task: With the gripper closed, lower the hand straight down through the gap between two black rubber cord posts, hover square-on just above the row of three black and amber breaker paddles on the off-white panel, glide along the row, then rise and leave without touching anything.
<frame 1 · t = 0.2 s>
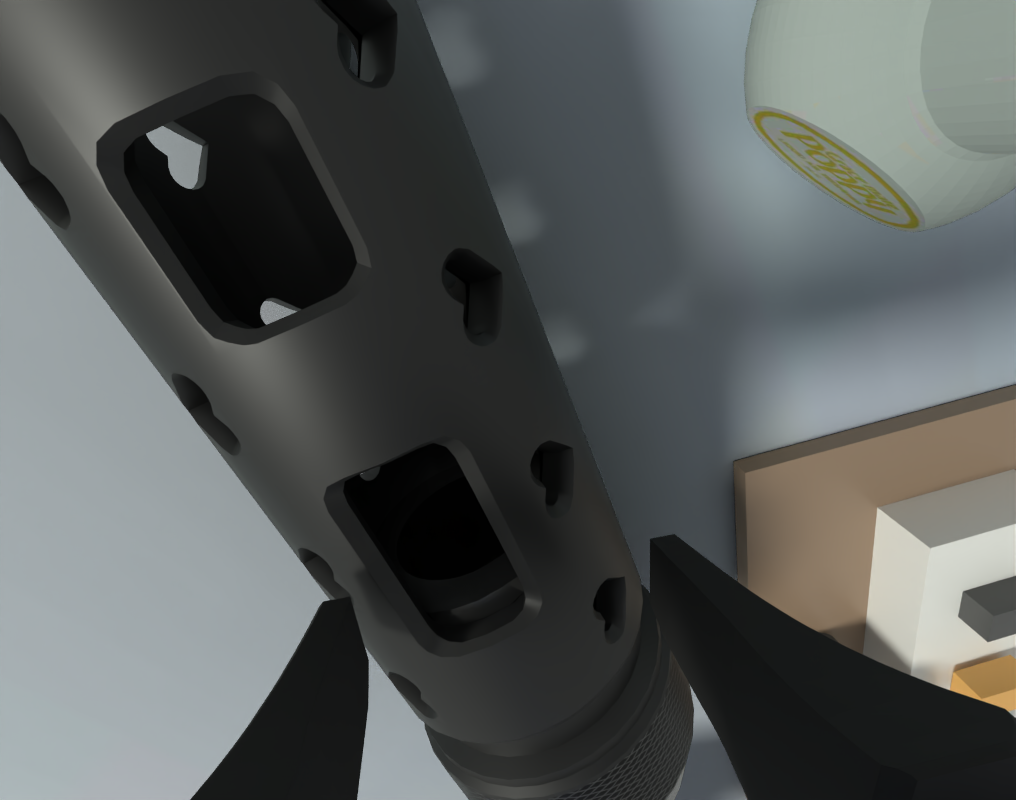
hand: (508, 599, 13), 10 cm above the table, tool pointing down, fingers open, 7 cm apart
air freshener: (852, 57, 20), on the table
amber paddle: (993, 687, 27), point 5 cm above the table, hinge at 0.0°
breaker panel: (909, 609, 32), on the table
muzzle brake: (438, 408, 23), on the table
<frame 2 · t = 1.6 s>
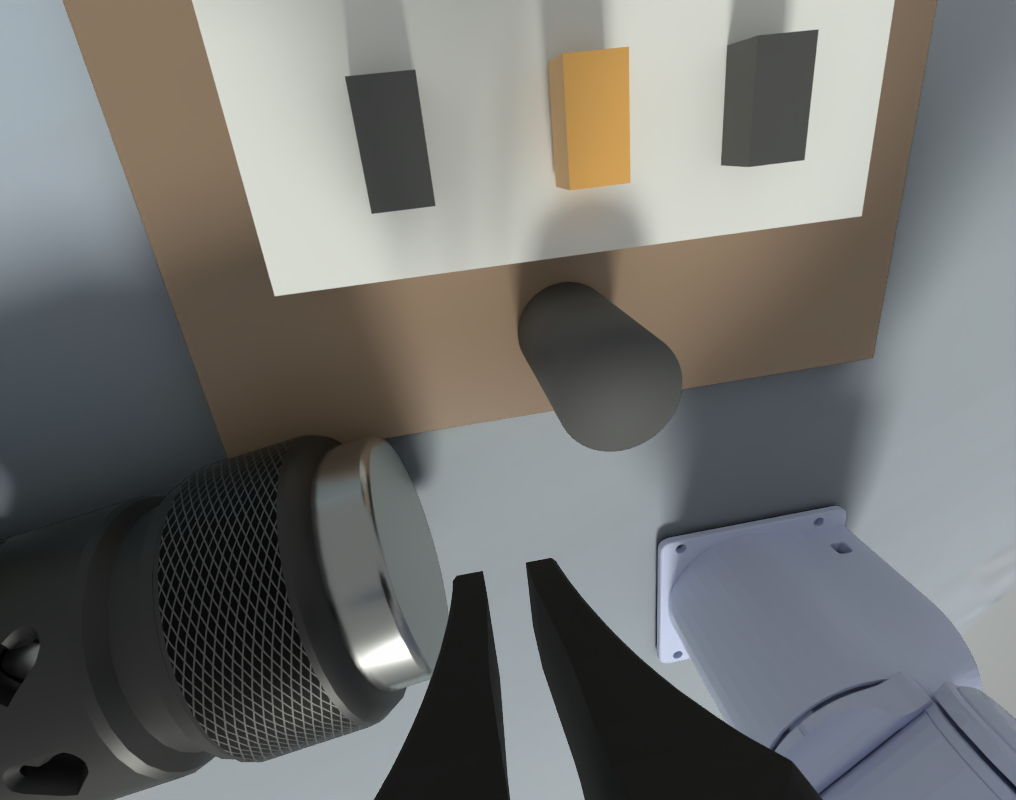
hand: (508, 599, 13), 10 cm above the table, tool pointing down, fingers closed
amber paddle: (589, 122, 15), point 5 cm above the table, hinge at 0.0°
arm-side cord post: (565, 330, 21), point 1 cm above the table, touching breaker panel
breaker panel: (546, 128, 19), on the table
muzzle brake: (114, 771, 22), point 4 cm above the table, touching breaker panel
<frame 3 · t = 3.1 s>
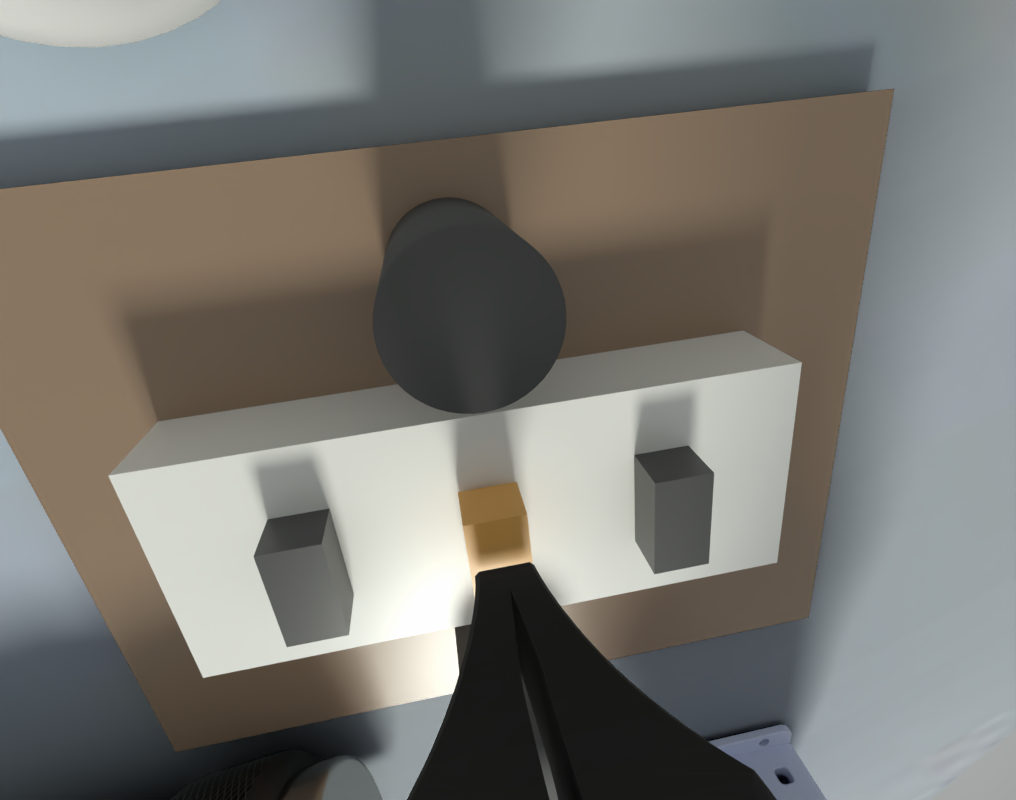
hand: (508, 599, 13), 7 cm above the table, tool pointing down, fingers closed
amber paddle: (497, 549, 15), point 5 cm above the table, hinge at 0.0°
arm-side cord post: (502, 622, 22), point 1 cm above the table, touching breaker panel
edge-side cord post: (450, 265, 16), point 1 cm above the table, touching breaker panel
breaker panel: (476, 456, 20), on the table
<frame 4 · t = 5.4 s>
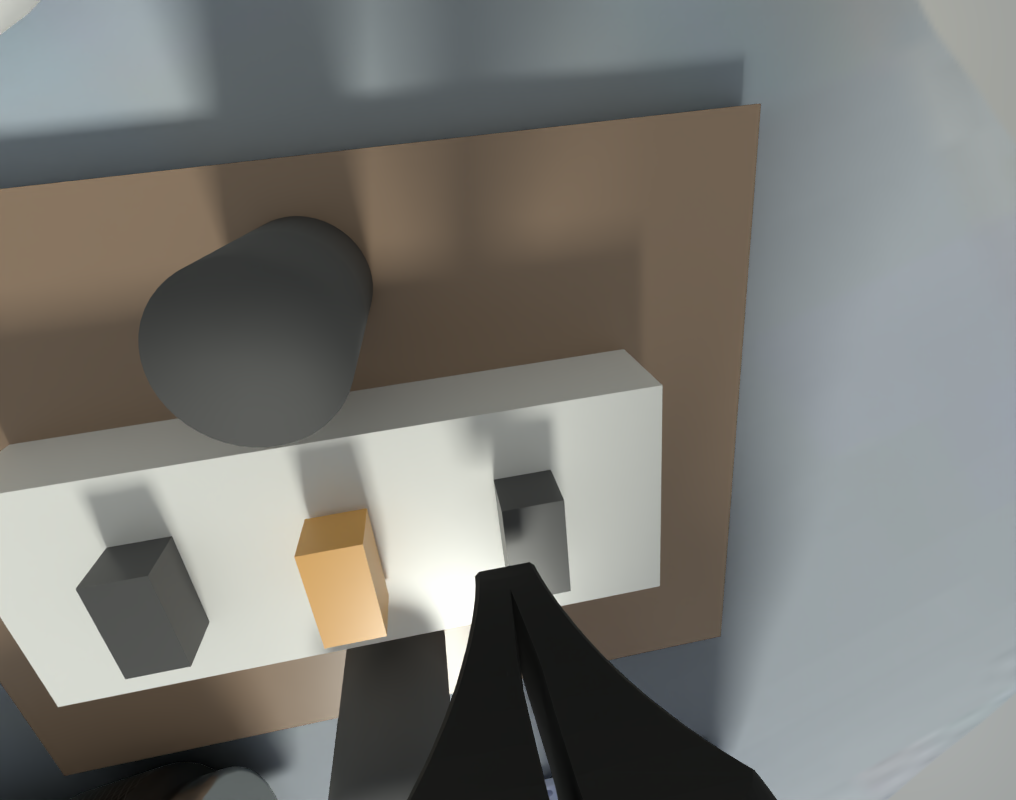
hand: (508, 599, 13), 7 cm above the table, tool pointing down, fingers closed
amber paddle: (345, 577, 15), point 5 cm above the table, hinge at 0.0°
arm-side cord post: (396, 643, 21), point 1 cm above the table, touching breaker panel
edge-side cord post: (305, 284, 16), point 1 cm above the table, touching breaker panel
breaker panel: (360, 476, 19), on the table
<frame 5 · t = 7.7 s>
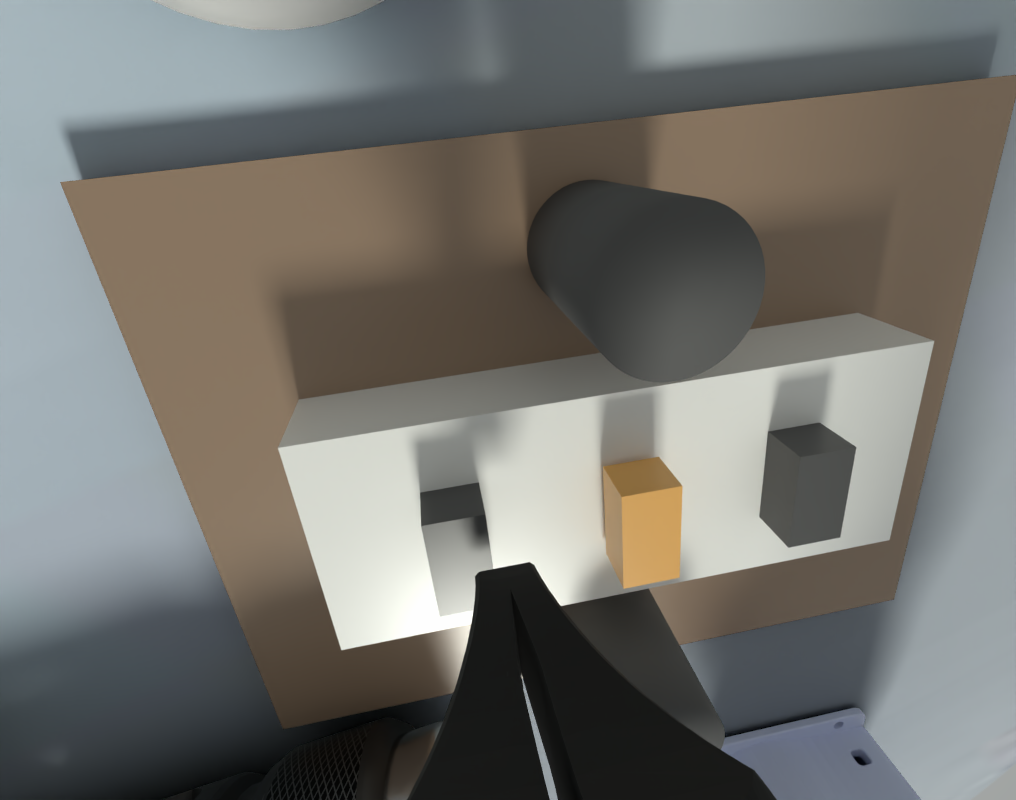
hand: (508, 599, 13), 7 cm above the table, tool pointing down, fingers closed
amber paddle: (641, 522, 16), point 5 cm above the table, hinge at 0.0°
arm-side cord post: (603, 602, 22), point 1 cm above the table, touching breaker panel
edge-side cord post: (588, 246, 16), point 1 cm above the table, touching breaker panel
breaker panel: (588, 437, 20), on the table
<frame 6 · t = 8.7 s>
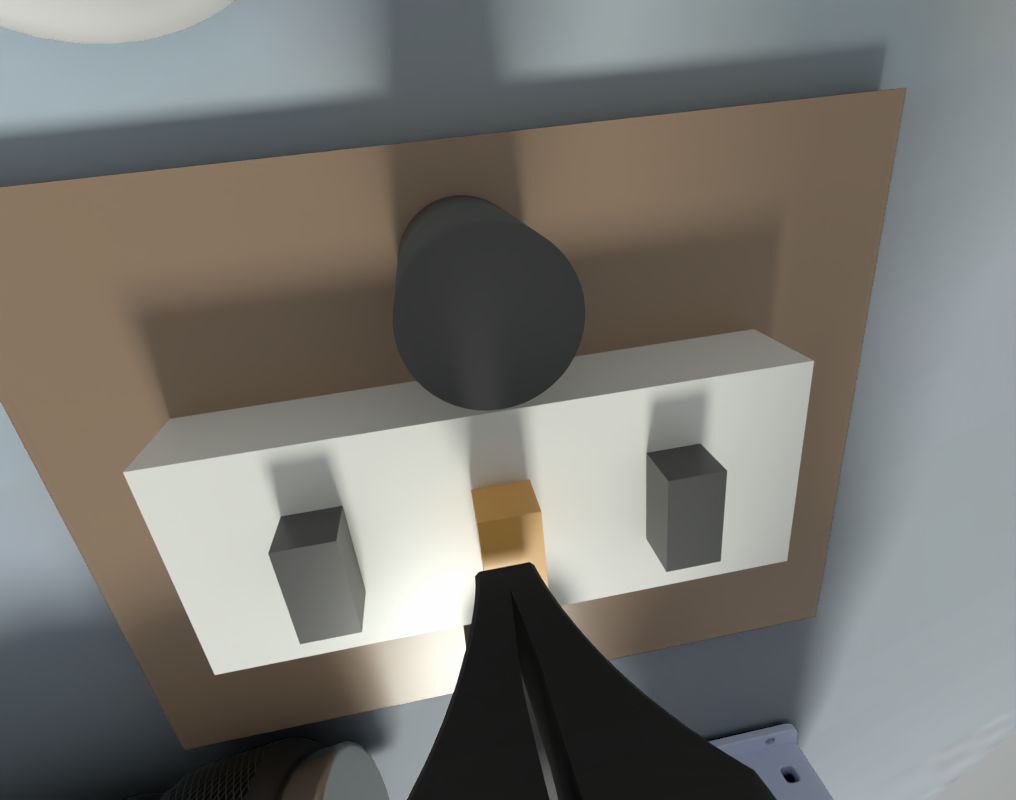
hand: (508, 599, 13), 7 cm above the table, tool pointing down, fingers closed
amber paddle: (510, 546, 15), point 5 cm above the table, hinge at 0.0°
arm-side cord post: (510, 620, 22), point 1 cm above the table, touching breaker panel
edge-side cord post: (463, 262, 16), point 1 cm above the table, touching breaker panel
breaker panel: (486, 454, 20), on the table
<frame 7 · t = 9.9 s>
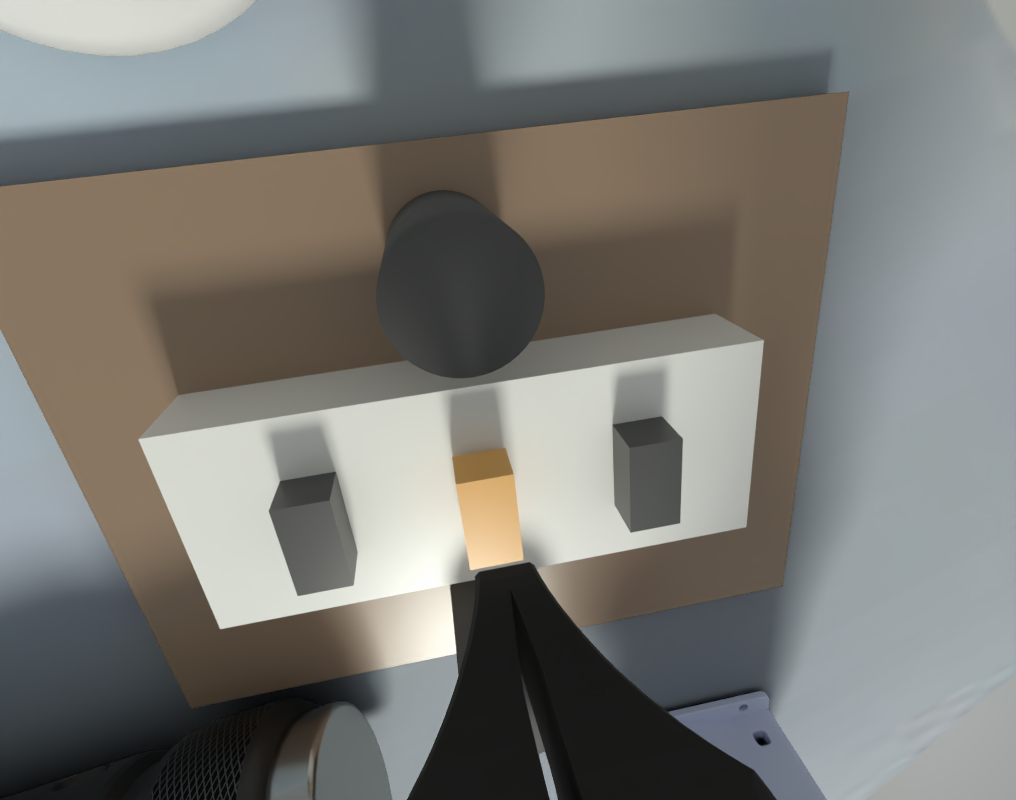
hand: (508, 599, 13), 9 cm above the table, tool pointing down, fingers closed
amber paddle: (487, 508, 17), point 5 cm above the table, hinge at 0.0°
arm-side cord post: (494, 587, 23), point 1 cm above the table, touching breaker panel
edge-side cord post: (445, 252, 18), point 1 cm above the table, touching breaker panel
breaker panel: (470, 430, 21), on the table
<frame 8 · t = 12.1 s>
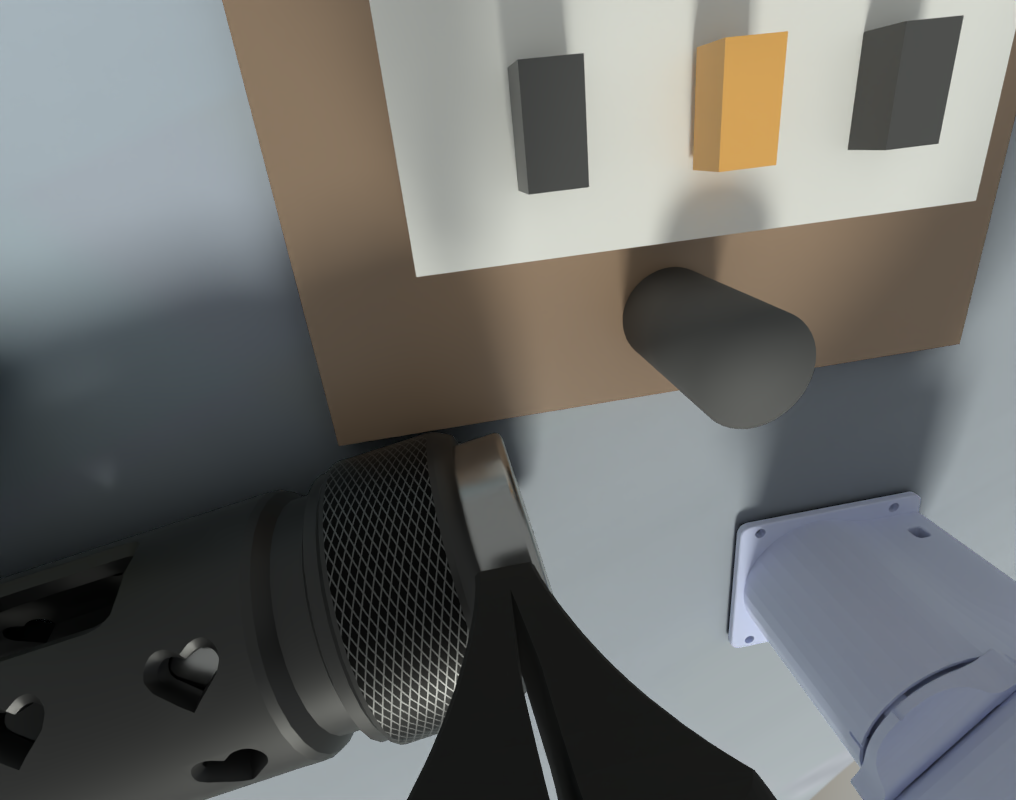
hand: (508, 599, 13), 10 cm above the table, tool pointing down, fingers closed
amber paddle: (736, 106, 15), point 5 cm above the table, hinge at 0.0°
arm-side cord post: (668, 315, 21), point 1 cm above the table, touching breaker panel
breaker panel: (659, 115, 19), on the table
muzzle brake: (237, 736, 23), point 4 cm above the table
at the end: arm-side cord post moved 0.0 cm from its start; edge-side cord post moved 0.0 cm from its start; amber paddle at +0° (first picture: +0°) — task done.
